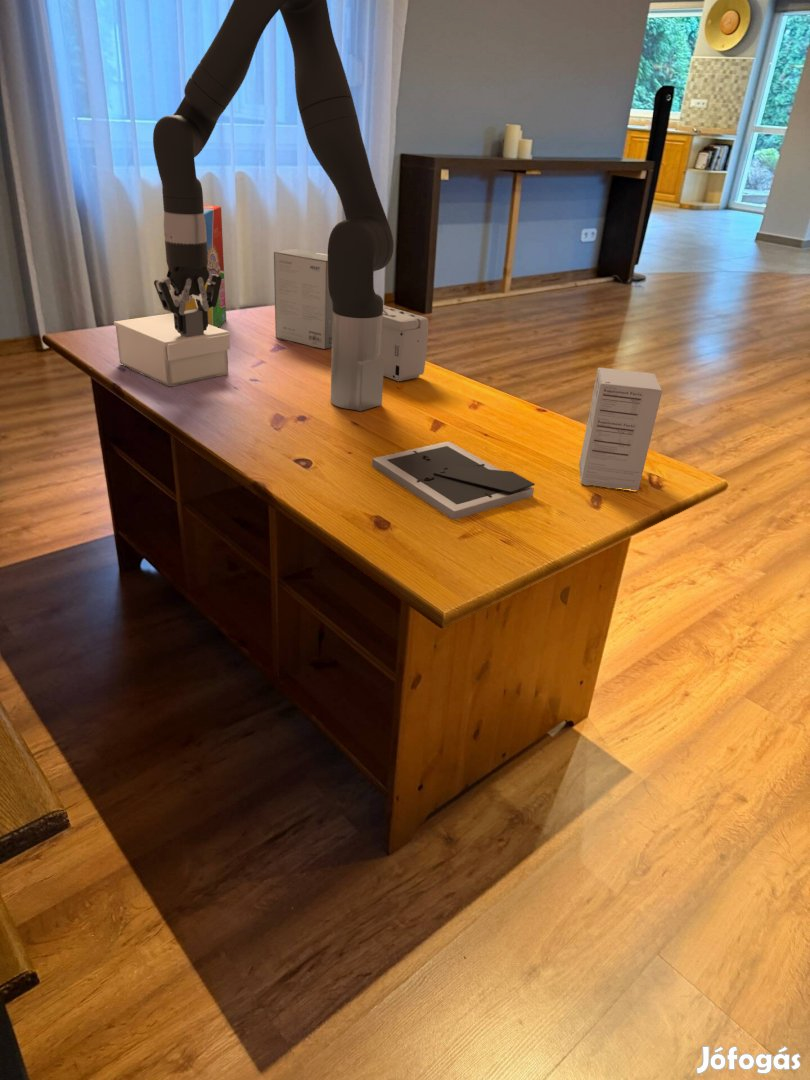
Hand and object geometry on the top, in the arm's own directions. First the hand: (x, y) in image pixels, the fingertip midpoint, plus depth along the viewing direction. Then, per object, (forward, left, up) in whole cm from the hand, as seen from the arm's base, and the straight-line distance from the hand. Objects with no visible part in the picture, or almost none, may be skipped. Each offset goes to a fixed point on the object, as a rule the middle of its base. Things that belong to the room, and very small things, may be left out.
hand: (192, 331), depth 149 cm
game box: (+31, -24, -10) cm, 40 cm away
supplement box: (-80, -24, -10) cm, 85 cm away
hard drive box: (+9, -38, -10) cm, 40 cm away
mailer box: (+8, 0, -10) cm, 12 cm away
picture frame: (-65, -3, -10) cm, 65 cm away
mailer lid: (+7, 0, -4) cm, 8 cm away
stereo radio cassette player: (-17, -35, -10) cm, 41 cm away
